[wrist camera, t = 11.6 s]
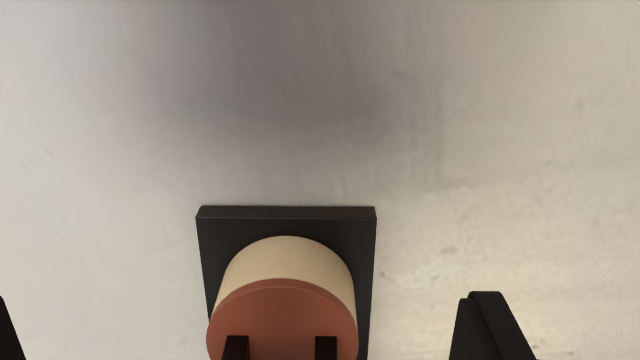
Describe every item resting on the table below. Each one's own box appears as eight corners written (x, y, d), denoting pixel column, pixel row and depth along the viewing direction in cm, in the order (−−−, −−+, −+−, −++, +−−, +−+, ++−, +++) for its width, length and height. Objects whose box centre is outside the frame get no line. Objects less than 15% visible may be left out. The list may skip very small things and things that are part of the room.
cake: (276, 210, 23) (268, 258, 19) (380, 284, 25) (390, 341, 21) (197, 296, 25) (176, 353, 21) (297, 357, 27) (293, 419, 23)
